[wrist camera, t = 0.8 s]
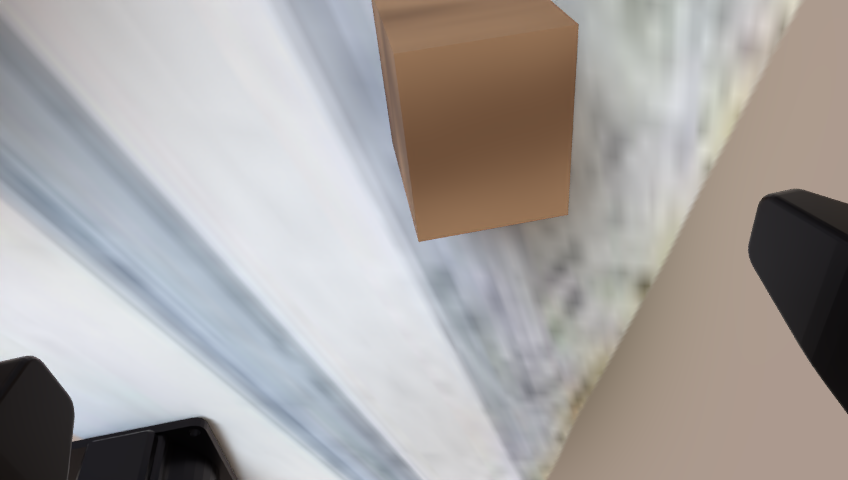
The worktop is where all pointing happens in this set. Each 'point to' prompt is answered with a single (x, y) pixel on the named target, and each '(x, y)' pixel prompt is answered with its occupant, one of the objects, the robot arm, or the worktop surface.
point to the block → (479, 109)
